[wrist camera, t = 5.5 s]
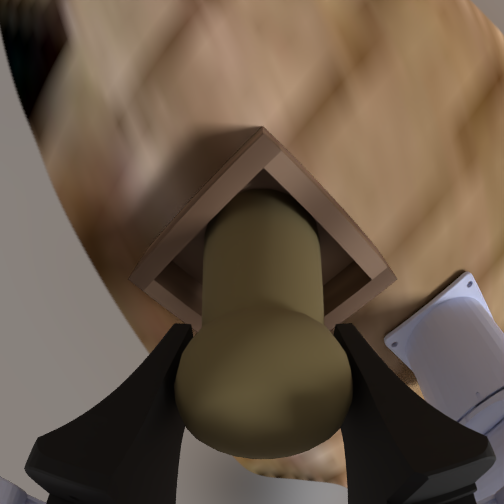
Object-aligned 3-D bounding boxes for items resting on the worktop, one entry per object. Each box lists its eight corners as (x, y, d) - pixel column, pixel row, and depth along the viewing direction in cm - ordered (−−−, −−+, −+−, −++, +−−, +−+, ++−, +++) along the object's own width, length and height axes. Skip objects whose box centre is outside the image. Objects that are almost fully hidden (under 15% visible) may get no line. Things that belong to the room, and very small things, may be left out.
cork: (260, 308, 19) (261, 488, 9) (181, 243, 17) (110, 425, 8) (341, 244, 17) (414, 425, 7) (262, 163, 15) (270, 321, 5)
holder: (377, 248, 18) (397, 279, 15) (262, 337, 22) (262, 375, 19) (262, 126, 15) (263, 133, 12) (148, 248, 19) (128, 279, 16)
